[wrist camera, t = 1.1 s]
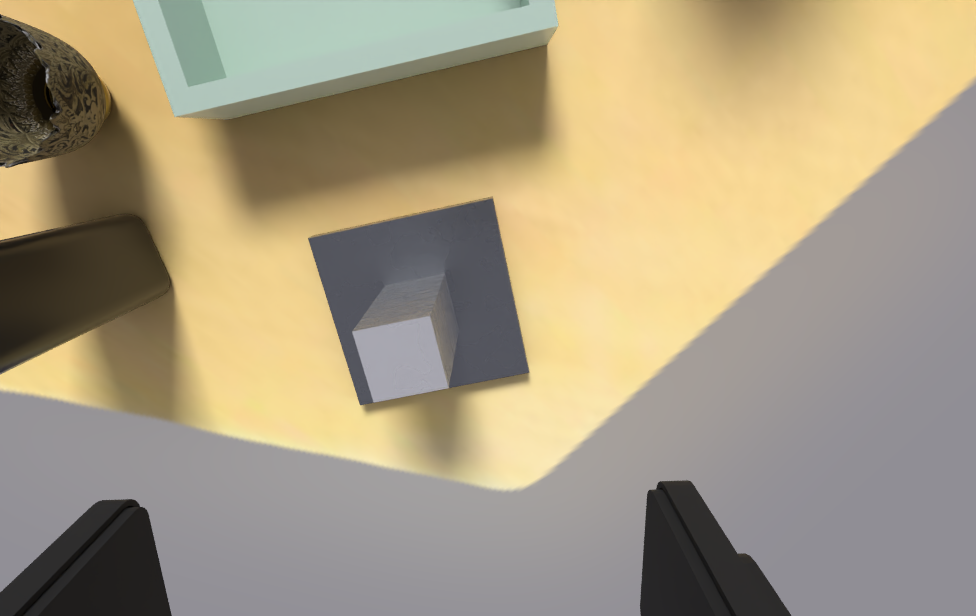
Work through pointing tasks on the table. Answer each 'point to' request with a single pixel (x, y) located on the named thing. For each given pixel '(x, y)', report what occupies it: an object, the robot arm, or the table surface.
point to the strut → (408, 338)
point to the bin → (322, 46)
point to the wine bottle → (73, 283)
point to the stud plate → (420, 253)
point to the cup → (45, 96)
